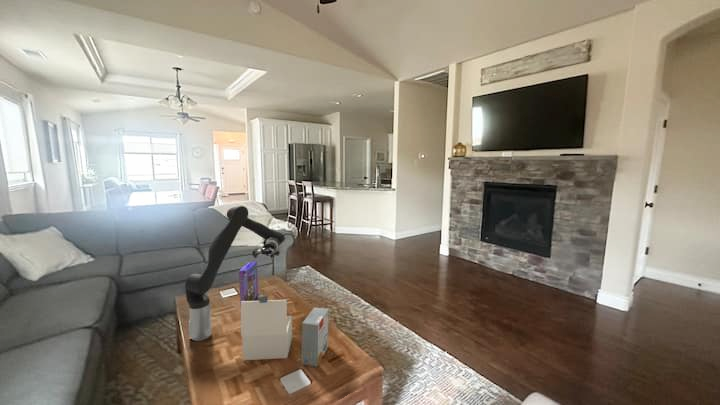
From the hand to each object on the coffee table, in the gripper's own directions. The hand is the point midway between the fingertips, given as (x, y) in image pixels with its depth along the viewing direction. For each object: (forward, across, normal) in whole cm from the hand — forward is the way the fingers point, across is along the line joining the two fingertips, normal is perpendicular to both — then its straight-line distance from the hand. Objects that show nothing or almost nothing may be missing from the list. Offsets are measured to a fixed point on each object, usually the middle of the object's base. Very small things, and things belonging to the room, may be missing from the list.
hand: (263, 256), depth 155 cm
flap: (+28, +7, +18) cm, 34 cm away
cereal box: (-29, -18, +40) cm, 53 cm away
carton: (+21, +7, +40) cm, 45 cm away
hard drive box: (+27, +30, +40) cm, 57 cm away
